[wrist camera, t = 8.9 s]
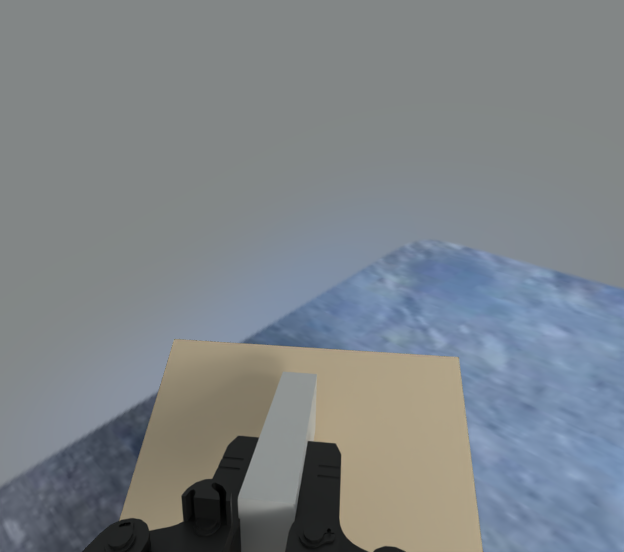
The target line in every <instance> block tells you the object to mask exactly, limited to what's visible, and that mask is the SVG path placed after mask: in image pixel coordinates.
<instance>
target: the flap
mask: <svg viewBox="0 0 624 552" xmlns="http://www.w3.org/2000/svg"><path fill="white" fill-rule="evenodd" d="M283 372H296V373H310V374H317V391H316V425H315V435H314V441H316V442H327V443H336V445H337V447H338V449H339V451H340V453H341V485H340V516H339V519H340V526H341V528H342V531H343V533H344V534H345V536H346V537H347V538H348V539H349V540H350V541H351V542H352V543H353V544H355V545H356V546H358V547H360V548H362V549H364V550H366V551H368V552H373V551H374V550H375V549H377V548H380V547H383V546H392V547H397V548H399V549H401V550H404V551H406V552H483V549H482V541H481V533H480V525H479V517H478V509H477V501H476V492H475V484H474V476H473V468H472V460H471V452H470V444H469V436H468V428H467V420H466V412H465V404H464V396H463V388H462V380H461V372H460V364H459V357H447V356H432V355H416V354H400V353H385V352H369V351H354V350H338V349H322V348H307V347H291V346H275V345H260V344H244V343H228V342H227V343H226V342H212V341H197V340H181V339H174V342H173V345H172V348H171V352H170V355H169V358H168V361H167V365H166V368H165V371H164V375H163V378H162V381H161V384H160V388H159V391H158V394H157V398H156V401H155V404H154V408H153V411H152V414H151V417H150V421H149V424H148V427H147V431H146V434H145V437H144V441H143V444H142V447H141V450H140V454H139V457H138V460H137V464H136V467H135V470H134V474H133V477H132V480H131V483H130V487H129V490H128V493H127V497H126V500H125V503H124V506H123V510H122V513H121V516H120V520H123V519H129V518H136V519H141V520H143V521H144V522H145V523H147V525H148V528H149V531H150V530H155V529H160V528H166V527H170V526H173V525H177V524H179V523H181V522H183V511H182V499H181V496H182V494H183V493H184V492H185V490H186V489H187V488H188V487H190V486H191V485H193V484H194V483H196V482H198V481H201V480H204V479H212V478H213V476H214V474H215V472H216V470H217V469H218V465H219V463H220V461H221V459H222V458H223V455H224V453H225V450H226V448H227V446H228V445H229V444H230V443H231V442H232V441H233V440H234V439H235V438H236V437H237V436H249V437H260V434H261V431H262V429H263V426H264V423H265V420H266V417H267V415H268V412H269V409H270V406H271V403H272V401H273V398H274V395H275V392H276V390H277V387H278V384H279V381H280V378H281V376H282V373H283ZM120 520H119V521H120Z"/></svg>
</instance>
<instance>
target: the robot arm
mask: <svg viewBox="0 0 624 552" xmlns="http://www.w3.org/2000/svg"><path fill="white" fill-rule="evenodd" d="M316 391H317V374H310V373H296V372H283V373H282V376H281V378H280V381H279V384H278V387H277V390H276V392H275V395H274V398H273V401H272V403H271V406H270V409H269V412H268V415H267V417H266V420H265V423H264V426H263V429H262V431H261V434H260V437H249V436H237V437H236V438H235V439H234V440H233V441H232V442H231V443H230V444H229V445H228V446H227V448H226V450H225V453H224V455H223V458H222V459H221V461H220V463H219V465H218V469H217V470H216V472H215V474H214V476H213V478H212V479H204V480H201V481H198V482H196V483H194V484H193V485H191V486H190V487H188V488H187V489H186V490H185V492H184V493H183V494H182V496H181V499H182V511H183V522H181V523H179V524H177V525H173V526H170V527H166V528H160V529H155V530H150V531H149V528H148V525H147V523H145V522H144V521H143V520H141V519H136V518H129V519H123V520H120V521H118V522H116V523H114V524H112V525H110V526H109V527H108V528H106V529H105V530H104V531H103V532H101V533H100V534H99V535H98V536H97V537H96V538H95V539H94V540H93V541H92V542H91V543H90V544H89V545H88V546H87V547H86V548H85V549H84V550H83V551H82V552H368V551H366V550H364V549H362V548H360V547H358V546H356V545H355V544H353V543H352V542H351V541H350V540H349V539H348V538H347V537H346V536H345V534H344V533H343V531H342V528H341V526H340V519H339V516H340V485H341V453H340V451H339V449H338V447H337V445H336V443H327V442H316V441H314V435H315V425H316ZM373 552H406V551H404V550H401V549H399V548H397V547H392V546H383V547H380V548H377V549H375V550H374V551H373Z"/></svg>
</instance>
